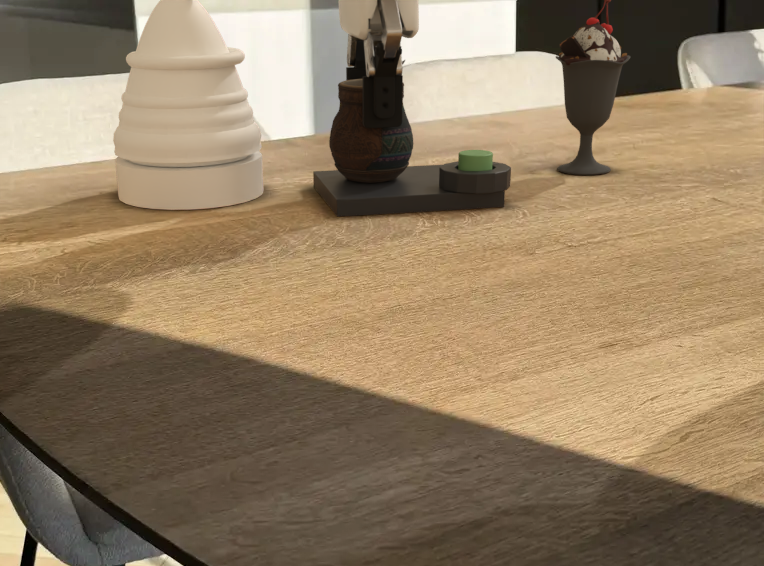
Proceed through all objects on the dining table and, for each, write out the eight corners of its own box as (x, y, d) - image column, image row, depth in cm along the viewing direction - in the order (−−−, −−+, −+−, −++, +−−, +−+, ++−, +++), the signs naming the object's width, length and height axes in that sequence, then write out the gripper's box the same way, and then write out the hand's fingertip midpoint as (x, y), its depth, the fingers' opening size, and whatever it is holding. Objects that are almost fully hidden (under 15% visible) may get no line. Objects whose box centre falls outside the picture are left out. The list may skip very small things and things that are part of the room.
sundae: (615, 163, 108) (630, -4, 101) (623, 177, 102) (640, 0, 95) (546, 163, 109) (556, -3, 102) (550, 176, 102) (561, 1, 96)
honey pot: (293, 189, 100) (287, -29, 92) (190, 216, 91) (174, -23, 83) (191, 173, 107) (178, -30, 100) (87, 197, 98) (64, -24, 91)
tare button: (486, 167, 94) (487, 148, 93) (496, 174, 91) (497, 154, 90) (454, 169, 93) (454, 150, 93) (463, 175, 91) (464, 156, 90)
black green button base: (472, 178, 103) (473, 145, 101) (517, 208, 91) (519, 171, 90) (313, 186, 101) (312, 153, 99) (338, 219, 89) (338, 181, 88)
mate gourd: (365, 167, 101) (364, 50, 97) (433, 176, 97) (435, 54, 93) (312, 180, 96) (309, 58, 92) (381, 190, 92) (382, 63, 88)
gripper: (449, -123, 80) (443, 134, 87) (395, -113, 95) (393, 105, 103) (346, -121, 79) (349, 139, 86) (308, -111, 94) (313, 108, 102)
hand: (373, 118), depth 94 cm, fingers closed on mate gourd, 6 cm apart
